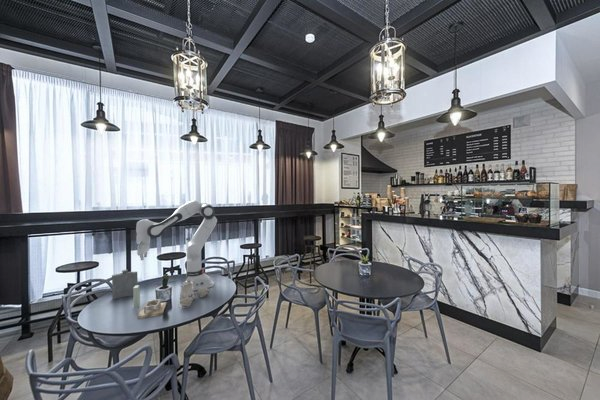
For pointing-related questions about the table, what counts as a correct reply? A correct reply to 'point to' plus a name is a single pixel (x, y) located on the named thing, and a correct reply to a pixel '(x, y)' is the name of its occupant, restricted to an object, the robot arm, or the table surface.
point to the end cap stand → (152, 309)
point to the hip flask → (124, 284)
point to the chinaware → (190, 294)
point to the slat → (136, 296)
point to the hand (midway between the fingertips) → (143, 258)
